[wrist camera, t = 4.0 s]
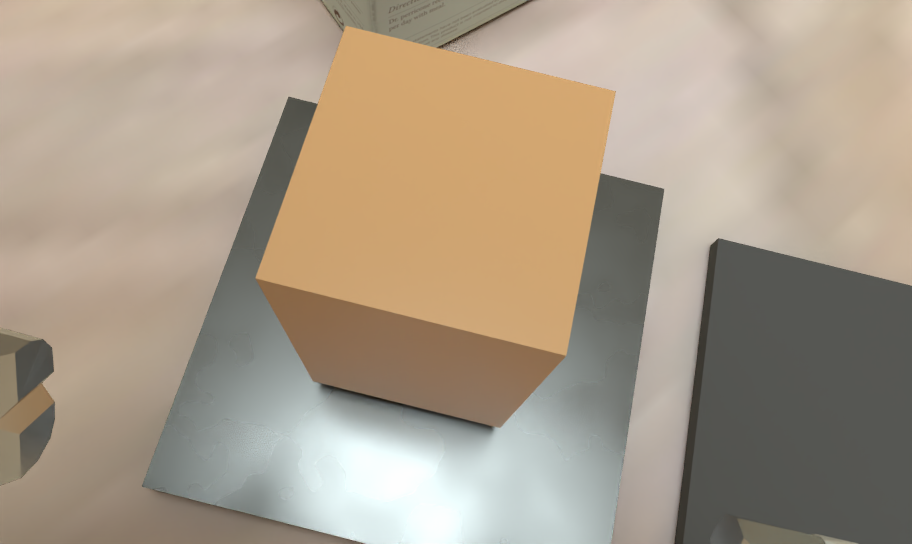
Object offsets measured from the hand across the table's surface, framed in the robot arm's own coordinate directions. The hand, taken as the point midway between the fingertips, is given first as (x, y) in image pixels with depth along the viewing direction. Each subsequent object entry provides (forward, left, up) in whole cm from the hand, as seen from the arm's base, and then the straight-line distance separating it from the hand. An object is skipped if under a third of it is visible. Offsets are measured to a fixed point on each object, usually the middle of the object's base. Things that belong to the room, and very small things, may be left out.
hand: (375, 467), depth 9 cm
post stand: (0, +5, -12) cm, 13 cm away
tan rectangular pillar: (0, +5, -10) cm, 11 cm away
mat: (+13, +5, -12) cm, 18 cm away
